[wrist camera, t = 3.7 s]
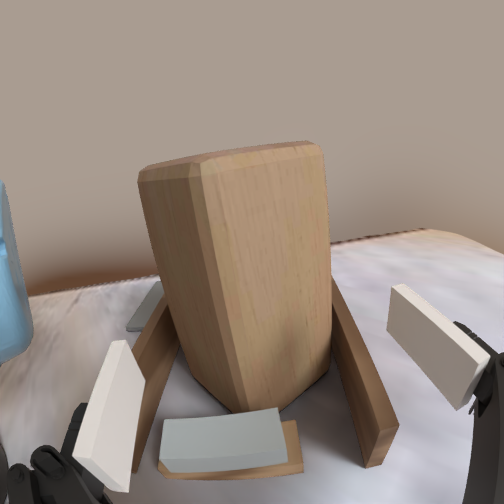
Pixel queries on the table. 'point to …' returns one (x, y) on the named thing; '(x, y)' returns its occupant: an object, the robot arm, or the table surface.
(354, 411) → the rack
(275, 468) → the offcut slab lower
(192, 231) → the wooden block
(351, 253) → the table surface
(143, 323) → the mat
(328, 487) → the table surface
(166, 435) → the offcut slab upper
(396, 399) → the table surface
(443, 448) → the table surface
